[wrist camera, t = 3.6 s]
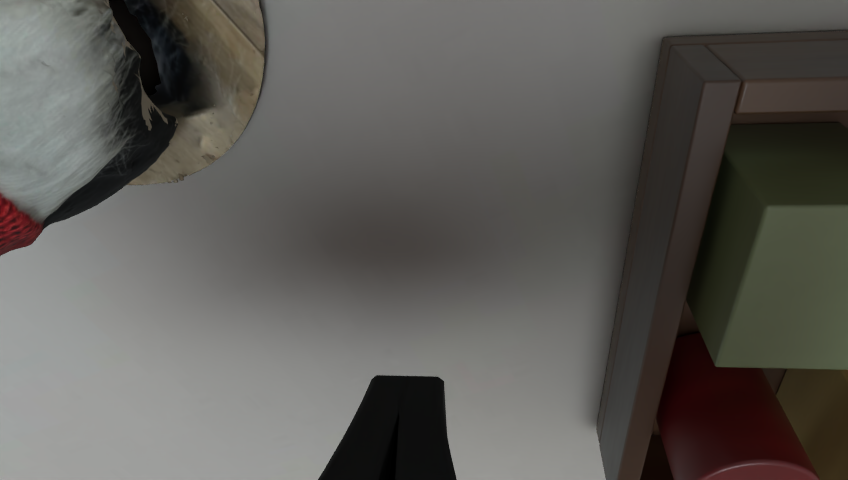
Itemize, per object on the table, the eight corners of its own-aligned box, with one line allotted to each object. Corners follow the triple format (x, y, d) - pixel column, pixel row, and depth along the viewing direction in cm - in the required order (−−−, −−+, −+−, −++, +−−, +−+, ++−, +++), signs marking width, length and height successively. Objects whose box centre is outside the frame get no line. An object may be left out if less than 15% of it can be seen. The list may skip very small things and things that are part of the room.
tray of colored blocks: (1120, 19, 10) (1478, 120, 7) (870, 437, 17) (979, 604, 13) (662, 36, 11) (752, 133, 8) (596, 428, 18) (625, 584, 14)
